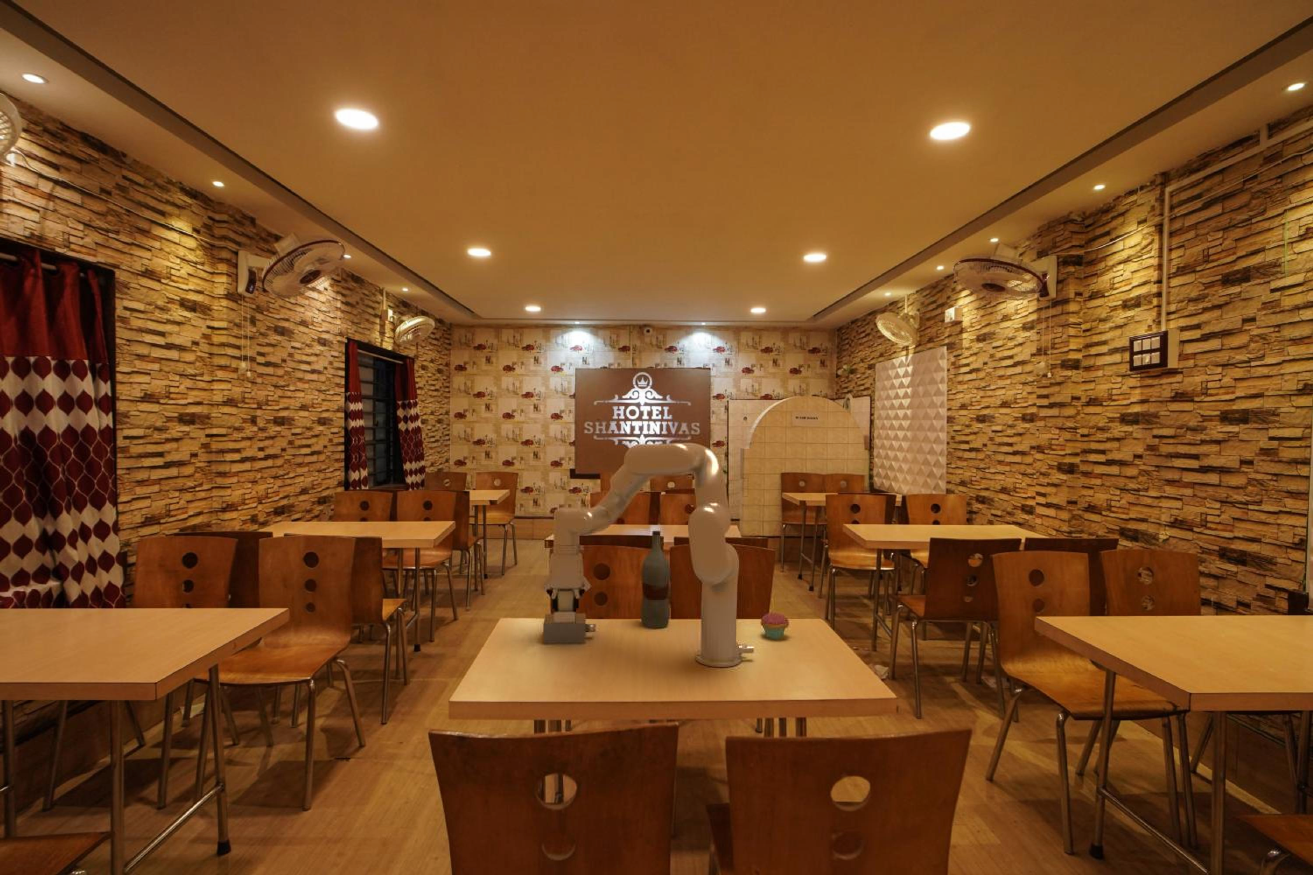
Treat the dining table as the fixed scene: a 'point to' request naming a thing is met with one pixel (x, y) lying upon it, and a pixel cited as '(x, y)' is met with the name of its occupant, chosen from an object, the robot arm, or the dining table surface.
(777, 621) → the cupcake
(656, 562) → the bottle
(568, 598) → the toy camera lens
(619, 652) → the dining table surface
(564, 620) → the box with side knob
